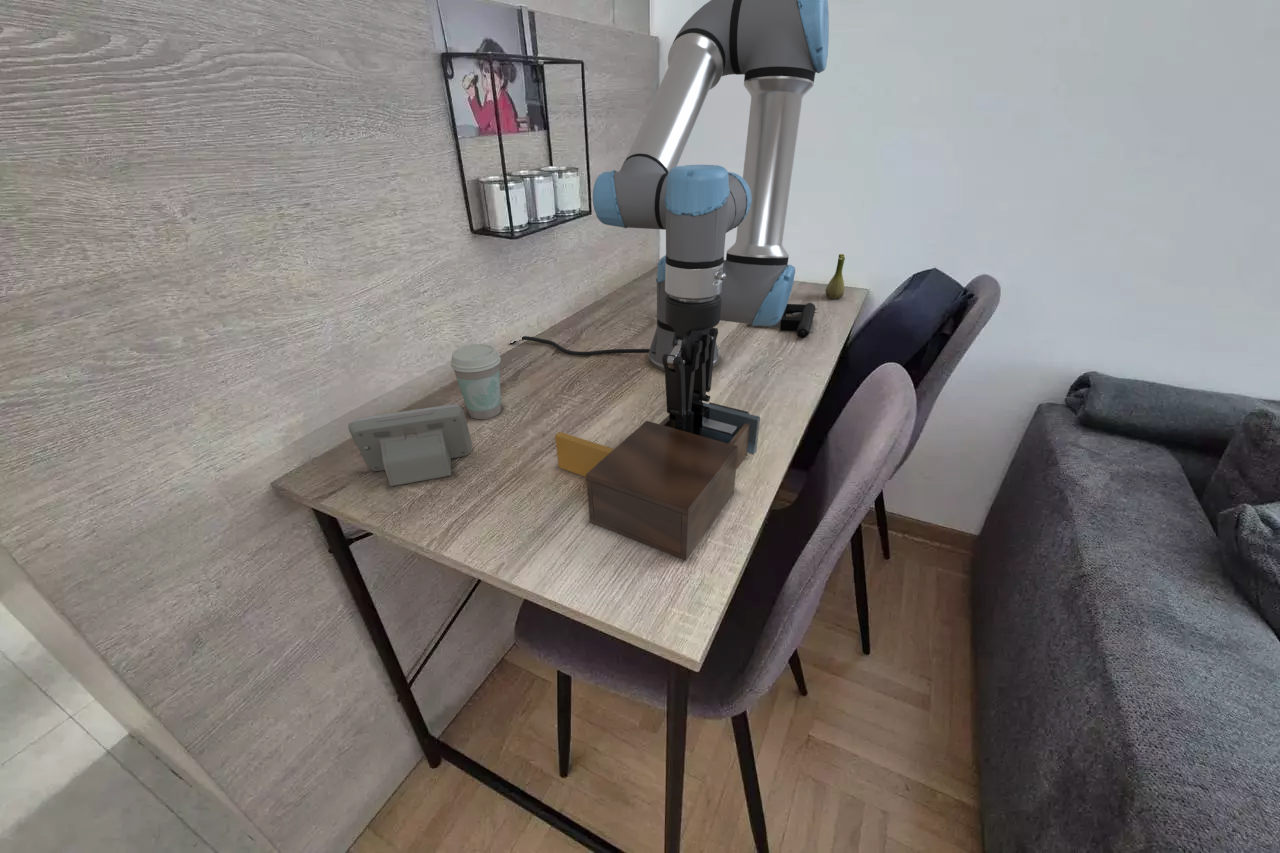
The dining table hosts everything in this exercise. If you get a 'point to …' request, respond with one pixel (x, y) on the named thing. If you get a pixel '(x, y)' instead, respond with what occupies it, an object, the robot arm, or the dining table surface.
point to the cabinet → (662, 487)
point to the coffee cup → (478, 379)
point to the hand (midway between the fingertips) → (688, 442)
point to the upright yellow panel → (579, 453)
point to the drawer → (743, 420)
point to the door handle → (796, 319)
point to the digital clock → (413, 442)
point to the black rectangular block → (707, 420)
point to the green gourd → (836, 281)
